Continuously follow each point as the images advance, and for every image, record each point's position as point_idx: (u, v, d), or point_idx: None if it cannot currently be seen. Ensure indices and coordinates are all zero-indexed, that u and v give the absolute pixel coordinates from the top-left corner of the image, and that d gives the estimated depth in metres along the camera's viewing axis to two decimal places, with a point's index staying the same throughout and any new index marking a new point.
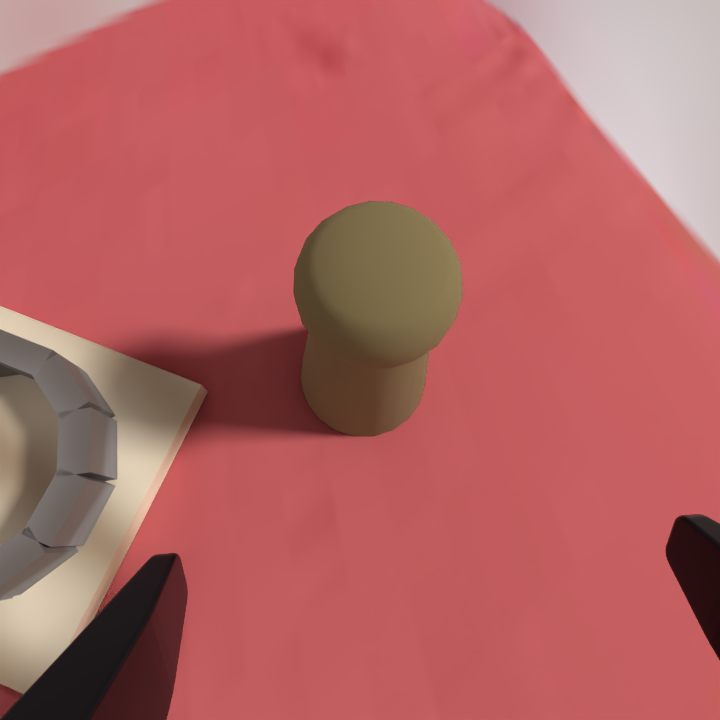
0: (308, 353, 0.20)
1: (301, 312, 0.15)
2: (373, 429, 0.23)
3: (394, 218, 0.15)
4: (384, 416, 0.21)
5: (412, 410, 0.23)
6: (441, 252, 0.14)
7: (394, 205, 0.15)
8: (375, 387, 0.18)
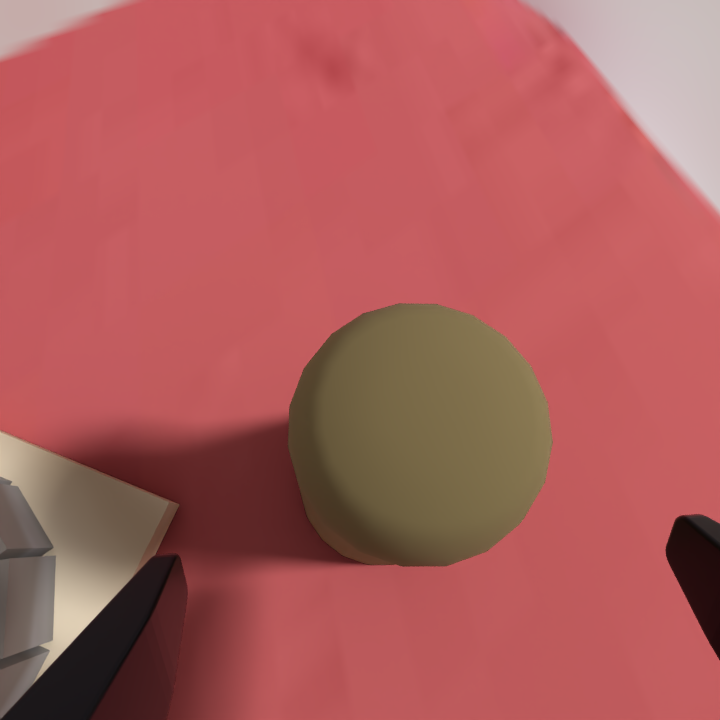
0: None
1: (300, 484, 0.09)
2: None
3: (447, 339, 0.09)
4: None
5: None
6: (524, 396, 0.09)
7: (445, 314, 0.10)
8: None
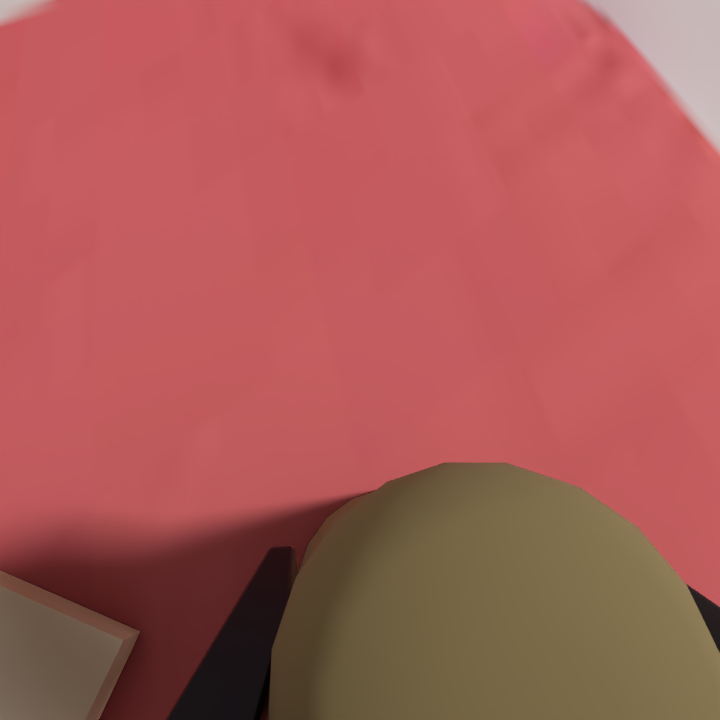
0: None
1: None
2: None
3: (557, 568, 0.05)
4: None
5: None
6: (704, 686, 0.05)
7: (546, 507, 0.05)
8: None
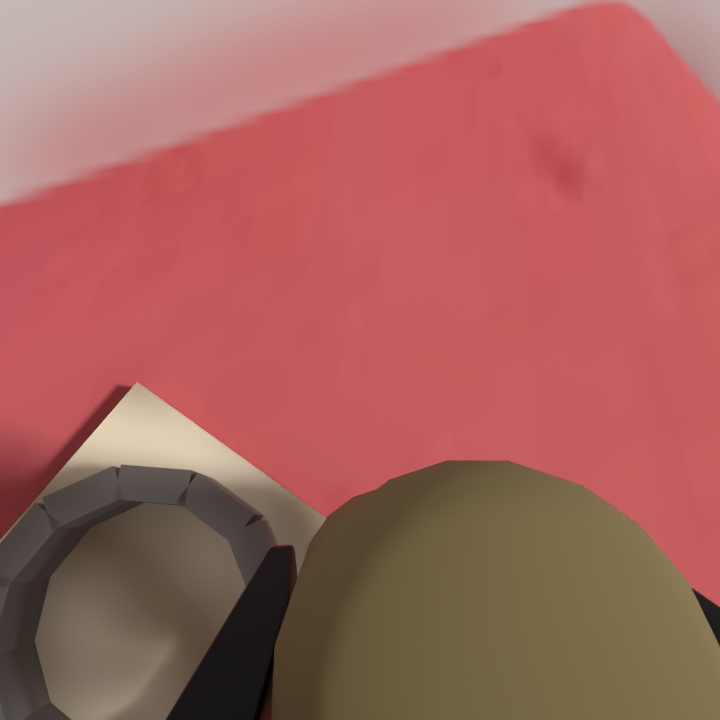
0: None
1: None
2: None
3: (559, 565, 0.05)
4: None
5: None
6: (705, 682, 0.05)
7: (548, 505, 0.05)
8: None
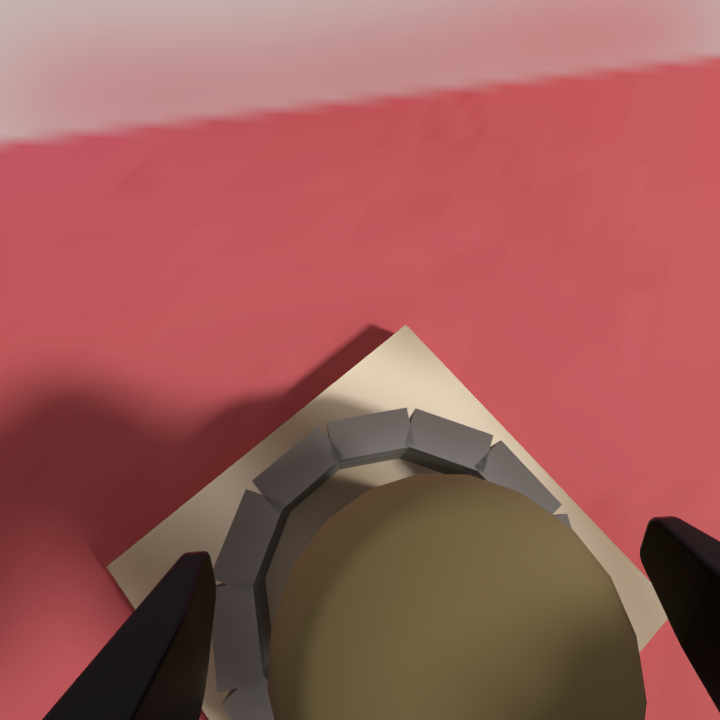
0: None
1: None
2: None
3: (496, 560, 0.06)
4: None
5: None
6: (611, 655, 0.06)
7: (491, 511, 0.07)
8: None
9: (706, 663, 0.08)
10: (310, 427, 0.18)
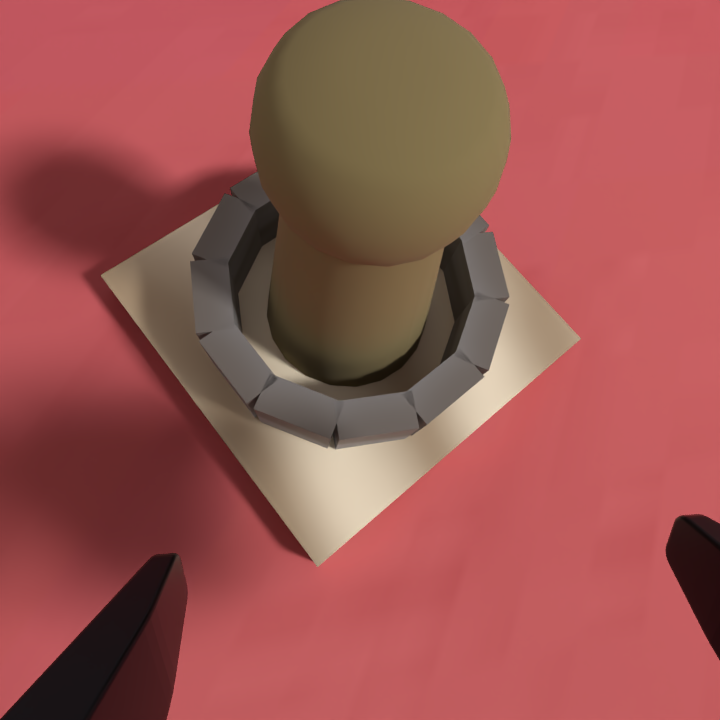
0: (275, 262, 0.15)
1: (259, 160, 0.09)
2: (356, 376, 0.18)
3: (414, 17, 0.09)
4: (372, 358, 0.16)
5: (407, 356, 0.18)
6: (486, 74, 0.09)
7: (414, 3, 0.10)
8: (364, 308, 0.13)
9: None
10: None
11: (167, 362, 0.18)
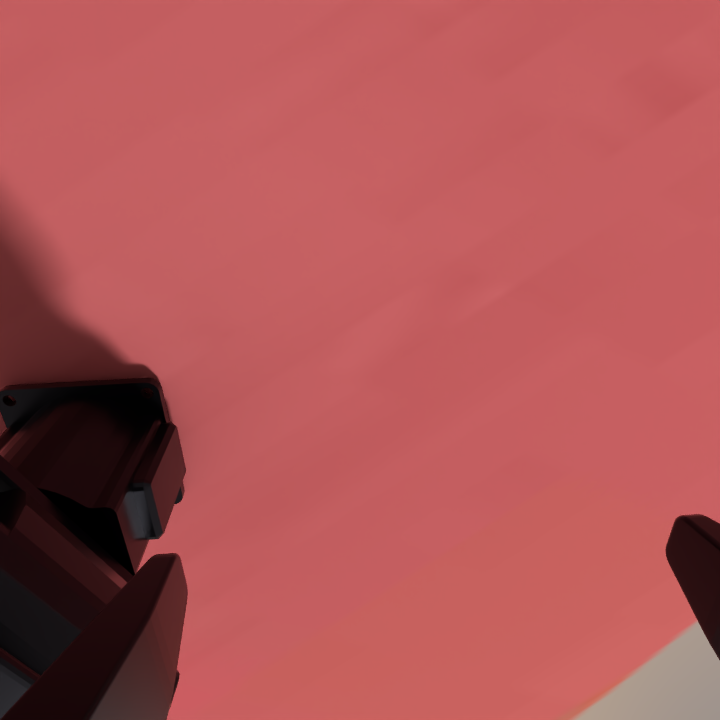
0: None
1: None
2: None
3: None
4: None
5: None
6: None
7: None
8: None
9: None
10: None
11: None
